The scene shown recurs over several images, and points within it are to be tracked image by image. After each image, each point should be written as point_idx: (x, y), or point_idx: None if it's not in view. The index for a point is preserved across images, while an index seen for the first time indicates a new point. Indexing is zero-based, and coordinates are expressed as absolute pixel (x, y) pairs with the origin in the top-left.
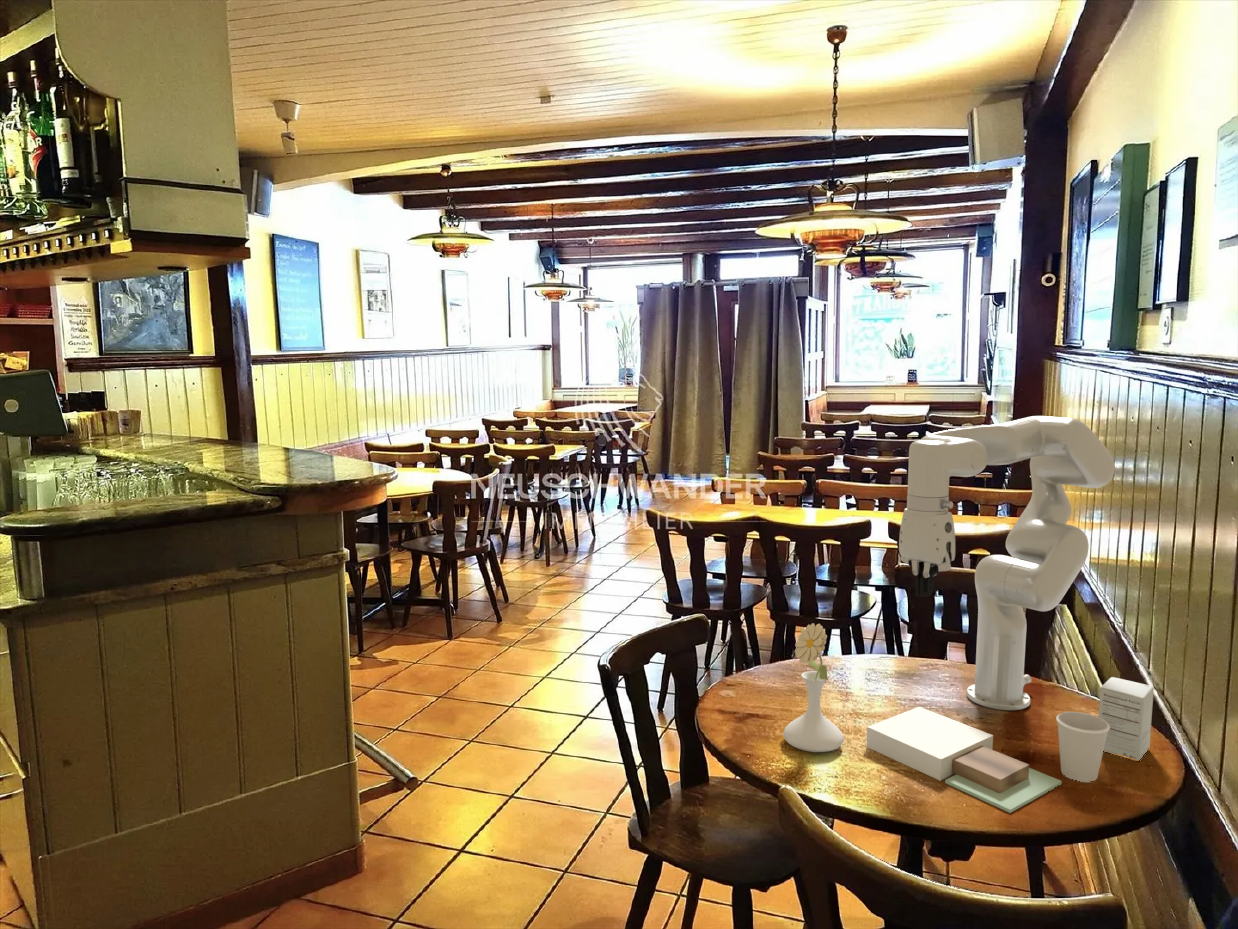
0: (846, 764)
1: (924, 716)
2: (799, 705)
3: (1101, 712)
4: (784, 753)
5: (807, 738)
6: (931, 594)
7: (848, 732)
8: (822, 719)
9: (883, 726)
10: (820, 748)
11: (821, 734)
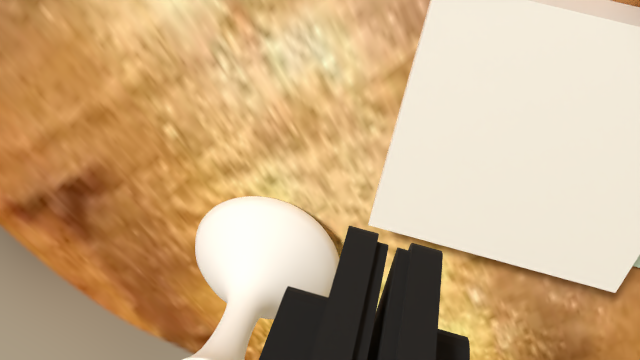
0: (381, 286)
1: (486, 55)
2: (97, 66)
3: None
4: None
5: None
6: (439, 255)
7: (296, 142)
8: (277, 300)
9: (404, 200)
10: None
11: None
